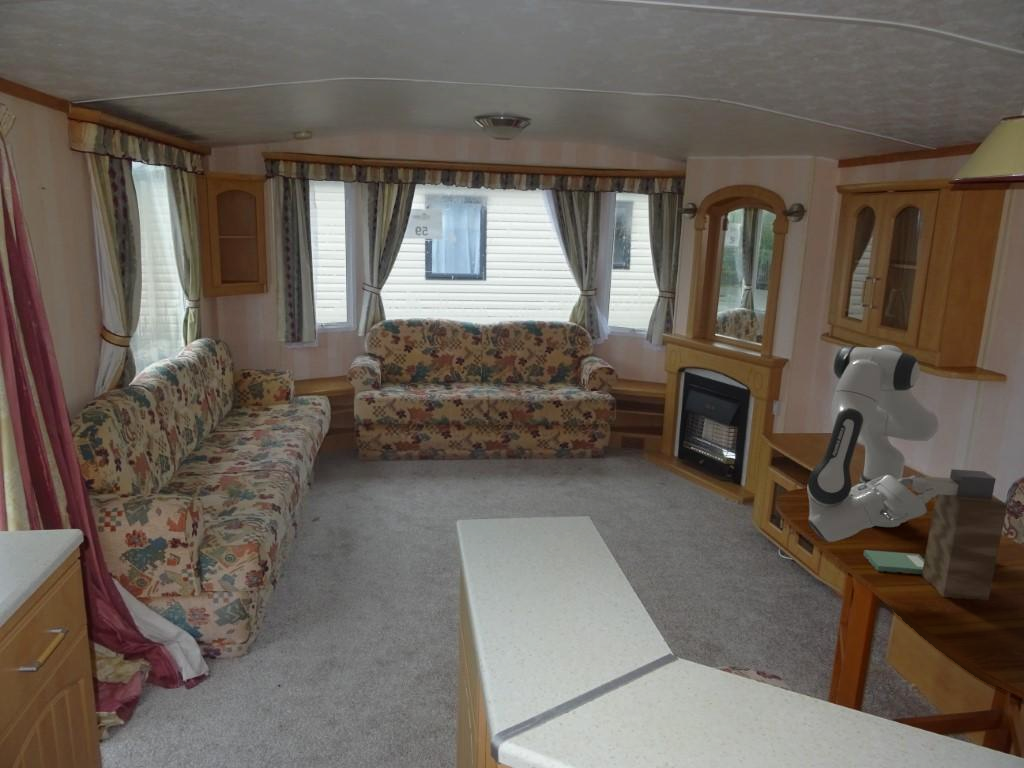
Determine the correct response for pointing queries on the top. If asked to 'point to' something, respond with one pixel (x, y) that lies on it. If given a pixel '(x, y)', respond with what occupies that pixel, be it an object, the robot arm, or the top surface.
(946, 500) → the block
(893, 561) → the board
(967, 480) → the plug
